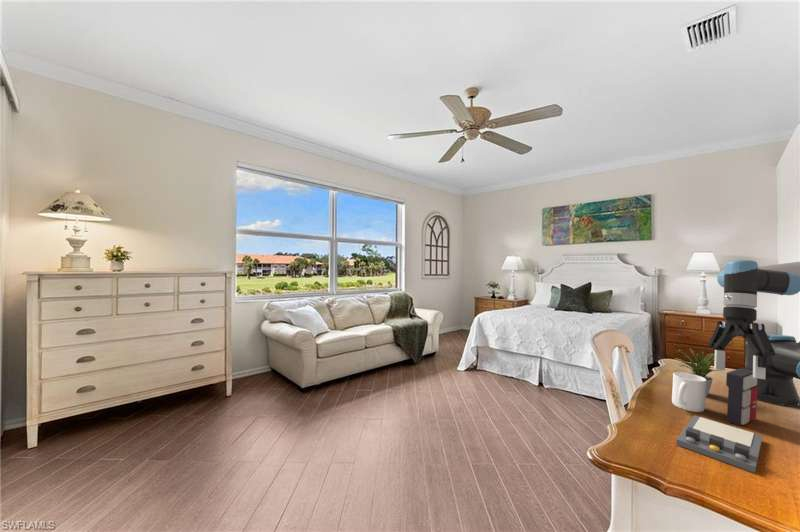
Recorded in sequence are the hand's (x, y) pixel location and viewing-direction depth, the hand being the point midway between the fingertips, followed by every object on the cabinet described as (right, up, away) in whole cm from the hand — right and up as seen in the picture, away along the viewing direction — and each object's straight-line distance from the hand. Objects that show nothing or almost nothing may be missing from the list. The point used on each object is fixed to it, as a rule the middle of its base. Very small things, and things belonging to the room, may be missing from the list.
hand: (738, 374), depth 103 cm
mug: (-13, -13, +4) cm, 19 cm away
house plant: (+4, -13, +18) cm, 23 cm away
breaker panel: (-22, -13, -16) cm, 30 cm away
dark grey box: (-3, -13, -3) cm, 14 cm away
